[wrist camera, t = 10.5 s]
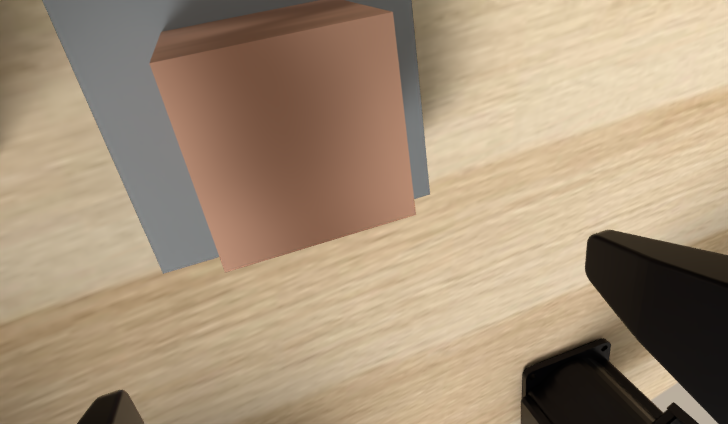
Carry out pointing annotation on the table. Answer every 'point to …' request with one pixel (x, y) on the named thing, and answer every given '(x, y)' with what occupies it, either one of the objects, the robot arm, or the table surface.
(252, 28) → the terracotta cube
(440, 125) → the table surface
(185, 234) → the slate block
